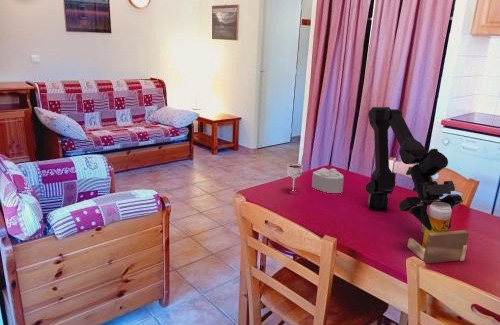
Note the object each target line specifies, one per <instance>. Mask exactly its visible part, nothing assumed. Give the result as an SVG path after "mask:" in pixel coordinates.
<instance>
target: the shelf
mask: <svg viewBox="0 0 500 325" xmlns="http://www.w3.org/2000/svg"><path fill="white" fill-rule="evenodd" d="M421 224H422V223H421ZM425 228H426V227H425V226H424V225H423V224H422V225H421V230H420V232H422V234H424V233H425ZM469 235H470V232H468V231H467V230H465V229H464V230H463V229H462V230H454V231H452V230H451V231H448V232H438V233H428V237H427V243H426V248H424V247H423V246H422V244H420V243H419V242H418V241H416V240H415V239H414V238H412V237H411V238H408V242H407V248H408V249H409V250H410V251H412V252H413V254H415V255H416V256H417V257H418V258H420V259H421V260H422V261H423V262H424V261H425V262H424V263H426V264H435V263H444V262H453V261H460V262H461V261H462V262H463V261H465V258H466V253H467V249H468V245H467V244H468V240H469Z"/></svg>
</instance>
